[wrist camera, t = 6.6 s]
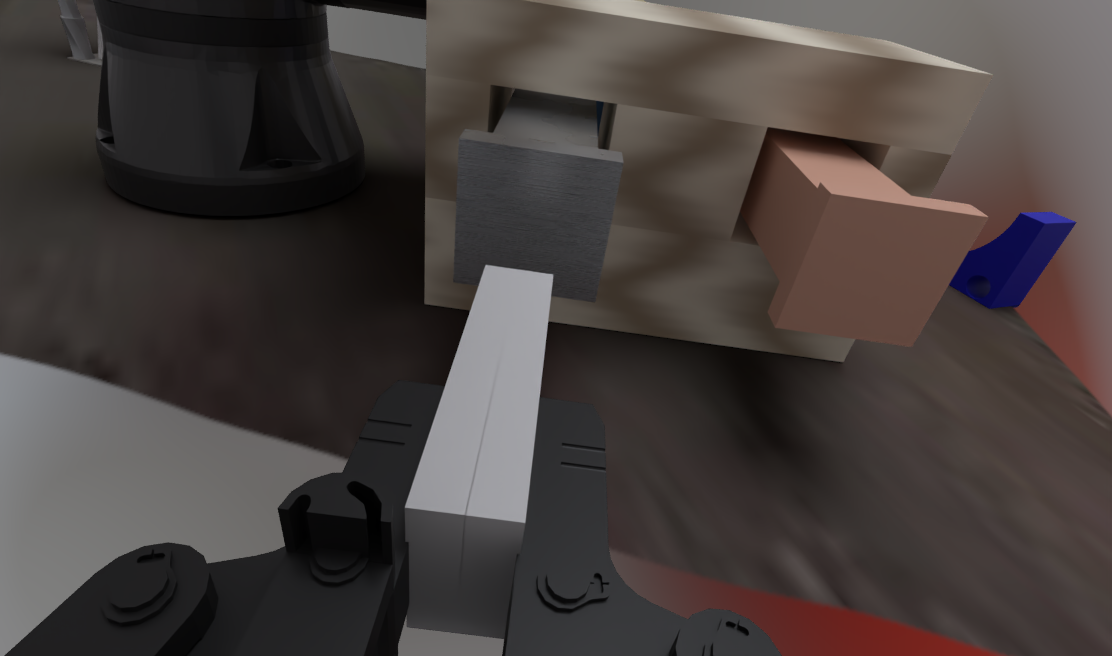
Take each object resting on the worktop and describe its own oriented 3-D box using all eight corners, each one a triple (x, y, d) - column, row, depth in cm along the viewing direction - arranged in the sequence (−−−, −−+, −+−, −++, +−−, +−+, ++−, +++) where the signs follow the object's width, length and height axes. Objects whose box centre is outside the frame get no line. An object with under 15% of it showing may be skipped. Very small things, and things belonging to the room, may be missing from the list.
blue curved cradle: (835, 229, 45) (868, 153, 42) (876, 227, 46) (912, 154, 43) (971, 312, 36) (1028, 224, 33) (1017, 307, 37) (1076, 222, 34)
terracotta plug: (775, 327, 20) (831, 194, 17) (710, 194, 30) (739, 98, 27) (911, 346, 20) (988, 217, 17) (800, 208, 30) (837, 114, 27)
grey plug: (453, 282, 19) (458, 137, 16) (501, 163, 30) (509, 63, 27) (595, 302, 19) (623, 162, 17) (593, 177, 30) (610, 78, 27)
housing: (424, 304, 28) (426, -15, 20) (459, 228, 35) (469, -26, 28) (843, 362, 29) (993, 74, 21) (790, 275, 36) (888, 40, 29)
